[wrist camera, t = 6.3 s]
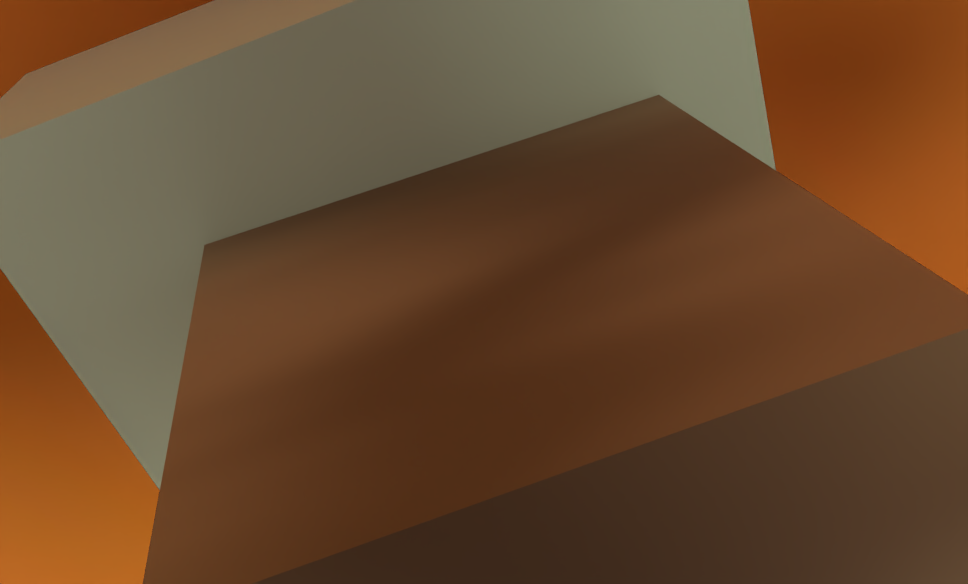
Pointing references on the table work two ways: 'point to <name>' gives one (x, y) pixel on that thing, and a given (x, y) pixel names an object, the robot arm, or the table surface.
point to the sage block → (301, 142)
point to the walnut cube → (570, 381)
